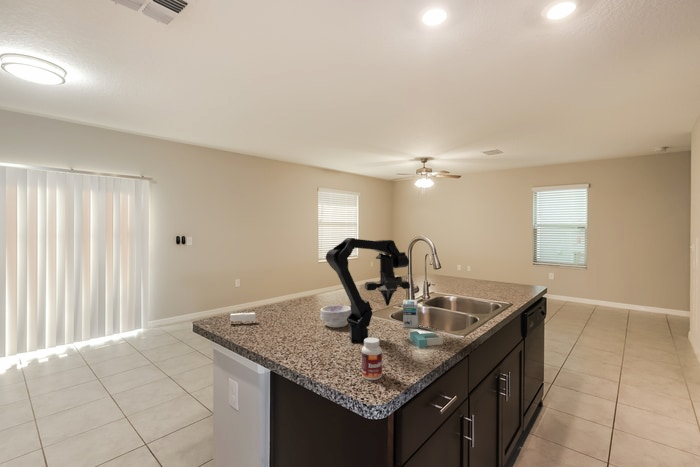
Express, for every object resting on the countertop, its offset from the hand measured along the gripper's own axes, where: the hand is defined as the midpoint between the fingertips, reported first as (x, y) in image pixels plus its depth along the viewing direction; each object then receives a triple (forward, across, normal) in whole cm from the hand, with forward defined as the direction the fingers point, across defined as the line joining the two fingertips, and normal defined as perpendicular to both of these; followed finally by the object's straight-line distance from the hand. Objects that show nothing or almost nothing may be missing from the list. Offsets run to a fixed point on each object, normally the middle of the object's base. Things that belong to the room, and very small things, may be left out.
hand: (387, 305), depth 137 cm
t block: (+12, +11, -14) cm, 21 cm away
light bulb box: (+12, +14, +10) cm, 21 cm away
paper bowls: (+12, -20, +17) cm, 29 cm away
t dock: (+12, +14, -14) cm, 23 cm away
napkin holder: (+13, -64, +28) cm, 71 cm away
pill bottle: (+12, -16, -38) cm, 43 cm away
